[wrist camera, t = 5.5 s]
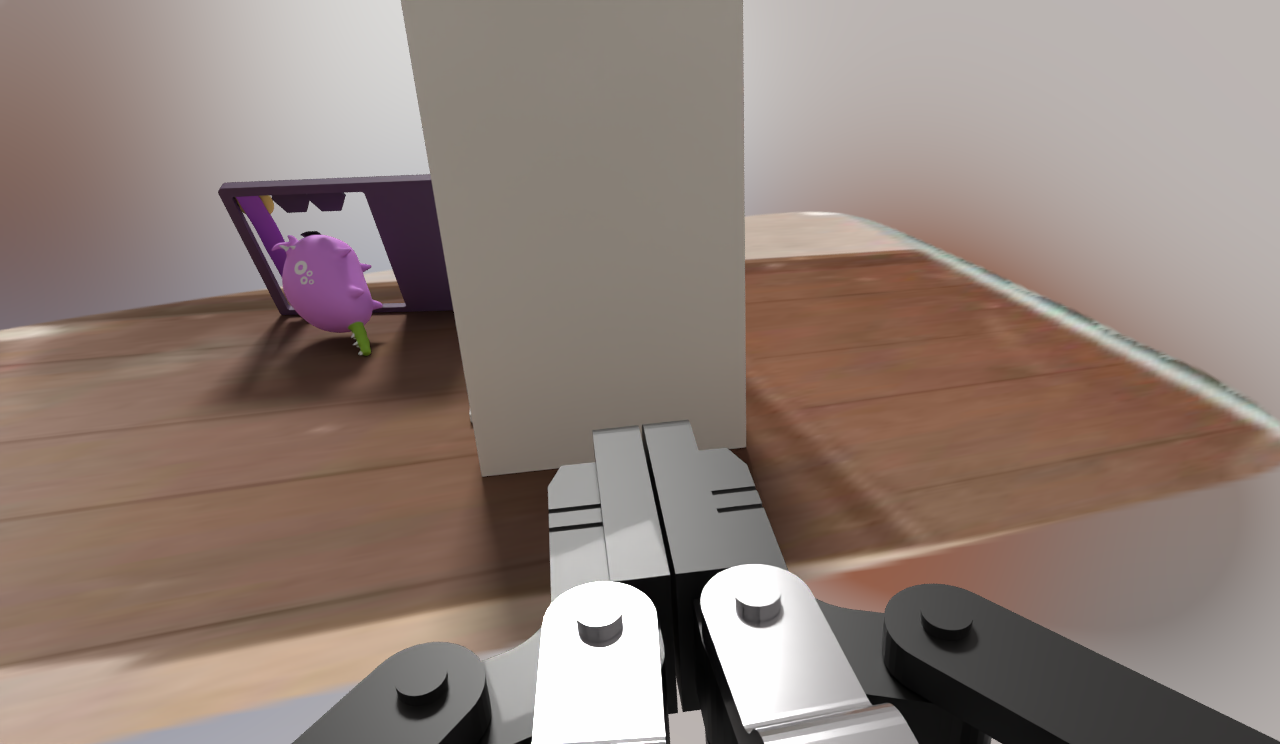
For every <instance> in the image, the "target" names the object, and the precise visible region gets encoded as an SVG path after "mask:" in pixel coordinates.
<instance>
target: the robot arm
mask: <svg viewBox="0 0 1280 744" xmlns="http://www.w3.org/2000/svg"><path fill="white" fill-rule="evenodd" d="M592 435H593V446H594V456H595V462H591V463H582V464H573V465H564V466H561V467H560V468H559V470H558V472H557V473H556V475H555V476H554V478H553V480H552V481H551V483H550V484H549V486H548V507H549V532H550V533H549V540H550V573H551V606H550V607H549V608H548V610H547V612H546V614H545V616H544V620H543V625H542V626H541V627H540V629H539V630H538V631H537V632H536V633H535V634H534V635H533V636H532V637H530V638H529V639H528V640H526V641H525V642H524V643H522V644H520V645H519V646H517V647H515V648H513V649H511V650H509V651H506V652H504V653H501V654H499V655H496V656H494V657H491V658H488V659H486V660H483V661H480V659H479V658H478V657H477V656H476V655H475V654H474V653H473V652H472V651H470V650H469V649H467V648H465V647H463V646H460V645H457V644H453V643H448V642H431V643H424V644H419V645H416V646H412V647H409V648H407V649H404V650H402V651H400V652H398V653H396V654H394V655H393V656H391V657H390V658H388V659H387V660H385V661H384V662H383V663H382V664H380V665H379V666H378V667H377V668H376V669H375V670H374V671H372V672H371V673H370V674H369V675H368V676H367V677H366V678H365V679H363V680H362V681H361V682H360V683H359V684H358V685H357V686H356V687H355V688H353V689H352V690H351V691H350V692H349V693H348V694H347V695H346V696H344V697H343V698H342V699H341V700H340V701H339V702H338V703H337V704H336V705H334V706H333V707H332V708H331V709H330V710H329V711H328V712H327V713H325V714H324V715H323V716H322V717H321V718H320V719H319V720H318V721H317V722H315V723H314V724H313V725H312V726H311V727H310V728H309V729H308V730H306V731H305V732H304V733H303V734H302V735H301V736H300V737H299V738H298V739H296V740H295V741H294V742H293V743H292V744H670V735H669V734H670V733H669V718H668V714H673V713H678V708H677V689H676V679H677V684H678V689H679V694H680V699H681V705H682V710H683V712H686V711H694V710H701V712H702V717H703V721H704V726H705V731H706V744H991V738H993V739H995V740H997V741H998V742H1000V743H1002V744H1280V742H1279V741H1277V740H1275V739H1273V738H1271V737H1269V736H1267V735H1265V734H1263V733H1261V732H1258V731H1257V730H1255V729H1252V728H1251V727H1248V726H1246V725H1244V724H1242V723H1240V722H1238V721H1236V720H1234V719H1232V718H1230V717H1228V716H1226V715H1224V714H1221V713H1220V712H1218V711H1216V710H1214V709H1211V708H1209V707H1207V706H1205V705H1203V704H1201V703H1199V702H1197V701H1195V700H1193V699H1191V698H1189V697H1187V696H1185V695H1183V694H1181V693H1179V692H1176V691H1174V690H1172V689H1170V688H1168V687H1166V686H1164V685H1162V684H1160V683H1158V682H1156V681H1154V680H1151V679H1150V678H1148V677H1145V676H1144V675H1141V674H1139V673H1137V672H1135V671H1133V670H1131V669H1129V668H1127V667H1125V666H1123V665H1121V664H1119V663H1116V662H1115V661H1113V660H1110V659H1109V658H1106V657H1104V656H1102V655H1100V654H1098V653H1096V652H1094V651H1092V650H1090V649H1088V648H1086V647H1084V646H1082V645H1080V644H1078V643H1075V642H1074V641H1071V640H1069V639H1067V638H1065V637H1063V636H1061V635H1059V634H1057V633H1055V632H1053V631H1051V630H1049V629H1047V628H1044V627H1043V626H1040V625H1039V624H1036V623H1034V622H1032V621H1030V620H1028V619H1026V618H1024V617H1022V616H1020V615H1018V614H1016V613H1014V612H1012V611H1010V610H1008V609H1005V608H1003V607H1001V606H999V605H997V604H995V603H993V602H991V601H989V600H987V599H985V598H983V597H981V596H979V595H977V594H975V593H972V592H970V591H968V590H965V589H962V588H958V587H955V586H950V585H945V584H922V585H916V586H912V587H909V588H906V589H904V590H902V591H900V592H899V593H897V594H896V595H894V596H893V597H892V598H891V600H890V601H889V602H888V604H887V606H886V608H885V613H878V612H870V611H861V610H852V609H847V608H841V607H837V606H834V605H830V604H827V603H825V602H822V601H820V600H818V599H816V598H814V596H813V594H812V592H811V590H810V589H809V588H808V586H807V585H806V584H805V583H804V582H803V581H802V580H801V579H800V578H799V577H797V576H796V575H794V574H792V573H791V572H789V571H788V569H787V566H786V564H785V561H784V559H783V556H782V553H781V551H780V548H779V546H778V543H777V541H776V538H775V535H774V533H773V530H772V528H771V525H770V523H769V520H768V517H767V515H766V512H765V510H764V508H762V502H761V500H760V497H759V494H758V492H757V490H756V489H755V484H754V482H753V479H752V476H751V474H750V471H749V469H748V466H747V464H746V463H744V462H743V461H742V460H741V459H739V458H738V457H737V456H736V455H735V454H733V453H732V452H731V451H730V450H729V449H727V448H717V449H708V450H698V447H697V444H696V440H695V437H694V434H693V431H692V427H691V424H690V422H689V420H679V421H670V422H661V423H651V424H642V439H641V434H640V429H639V426H638V425H634V426H625V427H616V428H606V429H597V430H592Z"/></svg>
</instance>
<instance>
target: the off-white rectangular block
mask: <svg viewBox="0 0 1280 744" xmlns="http://www.w3.org/2000/svg"><path fill="white" fill-rule="evenodd" d="M401 4H402V10H403V16H404V21H405V28H406V33H407V40H408V45H409V52H410V57H411V63H412V69H413V75H414V81H415V86H416V93H417V98H418V104H419V110H420V116H421V122H422V128H423V134H424V139H425V146H426V151H427V157H428V163H429V168H430V175H431V181H432V187H433V193H434V198H435V204H436V210H437V216H438V222H439V228H440V234H441V240H442V245H443V251H444V257H445V263H446V269H447V275H448V281H449V287H450V293H451V298H452V304H453V310H454V316H455V322H456V328H457V334H458V340H459V345H460V351H461V357H462V363H463V369H464V375H465V381H466V387H467V392H468V398H469V404H470V410H471V416H472V422H473V428H474V434H475V439H476V445H477V451H478V457H479V463H480V469H481V475H482V477H484V476H493V475H502V474H511V473H520V472H529V471H538V470H547V469H556V468H560V467H561V466H564V465H573V464H582V463H591V462H595V456H594V446H593V435H592V430H597V429H606V428H616V427H625V426H634V425H638V426H639V429H640V434H641V439H642V424H651V423H661V422H670V421H679V420H689V422H690V424H691V427H692V431H693V434H694V437H695V440H696V444H697V447H698V450H708V449H717V448H727V449H735V448H744V447H746V360H745V221H744V92H743V91H744V90H743V88H744V84H743V83H744V82H743V0H401Z"/></svg>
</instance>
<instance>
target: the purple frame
mask: <svg viewBox="0 0 1280 744" xmlns="http://www.w3.org/2000/svg"><path fill="white" fill-rule="evenodd" d="M343 192H363V193H364V194H365V196H366V199H367V201H368V204H369V207H370V210H371V212H372V215H373V218H374V220H375V223H376V226H377V228H378V231H379V234H380V236H381V239H382V242H383V244H384V247H385V250H386V252H387V255H388V258H389V261H390V263H391V266H392V269H393V272H394V274H395V277H396V280H397V282H398V285H399V288H400V290H401V293H402V296H403V299H404V301H405V303H392V304H381V303H380V302H378V301H374V300H372V298H371V295H370V292H369V289H368V286H367V284H366V281H365V278H364V275H363V272H364V271H366V270H368V269H370V268H371V265H367V264H361V263H360V262H359V260H358V257H357V255H356V254H355V252H354V250H353V249H352V248H351V247H350V246H348V245H347V244H346V243H344V242H343V241H341V240H339V239H336V238H334V237H330V236H326V235H321V234H320V233H319V232H317V231H312V232H311V231H309V232H305V233H302V234H301V235H302V236H303V237H305V238H303V239H301V240H299V241H298V240H297V239H296V238H295V237H294V236H291V235H288V238H289V242H285V241H284V239H283V237H282V235H281V233H280V231H279V229H278V227H277V225H276V223H275V222H274V220H273V218H272V217H271V215H270V214H271V213H272V212H273V209H274V203H273V201H274V202H276V203H277V204H278V205H279V206H281V208H283V209H284V210H285V211H286V212H287V213H292V212H307V209H308V205H309V200H310V201H311V202H312V203H313V204H314V205H315V206H317V207H318V208H319V209H320V210H321V211H341V210H342V207H343V203H344V199H345V196H346V195H345V194H344V193H343ZM218 193H219V196H220V197H221V199H222V201H223V203H224V205H225V207H226V209H227V211H228V213H229V215H230V217H231V219H232V221H233V223H234V225H235V227H236V228H237V231H238V232H239V234H240V236H241V238H242V240H243V242H244V244H245V246H246V248H247V250H248V252H249V254H250V256H251V258H252V260H253V262H254V264H255V265H256V267H257V269H258V271H259V273H260V275H261V277H262V279H263V281H264V283H265V285H266V287H267V289H268V291H269V293H270V295H271V297H272V299H273V300H274V302H275V304H276V306H277V308H278V310H279V312H280V314H282V315H298V314H299V315H300V316H301V317H302V318H303V319H304V320H306V321H307V322H309V323H310V324H312V325H313V326H315V327H317V328H319V329H322V330H325V331H329V332H337V333H342V332H350V331H352V332H353V335H352V336H351V338H353V337H355V338H354V339H356V340H357V341H356V342H355V343H354V344H353V345H358V346H356V347H359V349H360V352H359V353H358V354H360V355H364V356H368V355H370V354H371V349H370V342H369V339H368V338H367V333H366V330H365V328H364V325H365V324H366V323H367V322H368V321H369V319H370V317H371V315H372V313H373V312H411V311H449V310H453V304H452V298H451V293H450V287H449V281H448V275H447V269H446V263H445V257H444V251H443V245H442V240H441V234H440V228H439V222H438V216H437V210H436V204H435V198H434V193H433V187H432V181H431V175H430V174H426V175H401V176H376V177H352V178H327V179H303V180H279V181H255V182H231V183H224V184H223V185H222V186H221V188H220V189H219V191H218ZM270 195H272V198H271V196H270ZM242 212H243V213H245V214H246V215H247V216H248V218H249V219H250V221H251V222H252V224H253V226H254V227H255V229H256V231H257V233H258V235H259V237H260V238H261V240H262V242H263V244H264V246H265V248H266V250H267V252H268V254H269V255H270V257H271V259H272V260H273V262H274V264H275V266H276V268H277V269H278V271H279V273H280V275H281V277H282V282H283V289H284V292H285V295H286V297H287V299H288V301H289V303H290V304H291V306H290V305H289V304H288V302H287V300H286V298H285V296H284V294H283V292H282V290H281V289H280V287H279V285H278V283H277V281H276V279H275V277H274V275H273V273H272V271H271V269H270V267H269V265H268V263H267V261H266V259H265V257H264V255H263V253H262V251H261V249H260V247H259V245H258V243H257V241H256V239H255V237H254V235H253V233H252V231H251V229H250V227H249V225H248V223H247V221H246V219H245V217H244V215H243V213H242Z"/></svg>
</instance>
